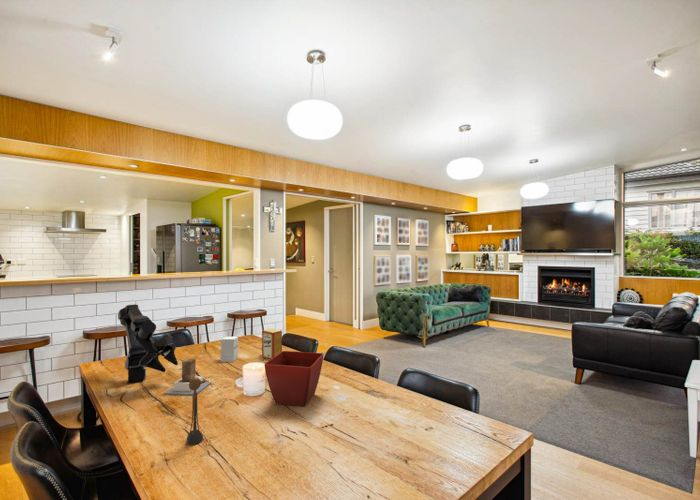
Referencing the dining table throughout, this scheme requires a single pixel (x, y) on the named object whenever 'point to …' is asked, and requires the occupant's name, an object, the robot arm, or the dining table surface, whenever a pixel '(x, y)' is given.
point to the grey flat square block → (185, 388)
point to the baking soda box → (271, 343)
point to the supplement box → (229, 349)
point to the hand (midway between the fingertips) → (171, 368)
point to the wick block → (188, 370)
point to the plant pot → (293, 376)
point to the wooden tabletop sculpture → (195, 434)
